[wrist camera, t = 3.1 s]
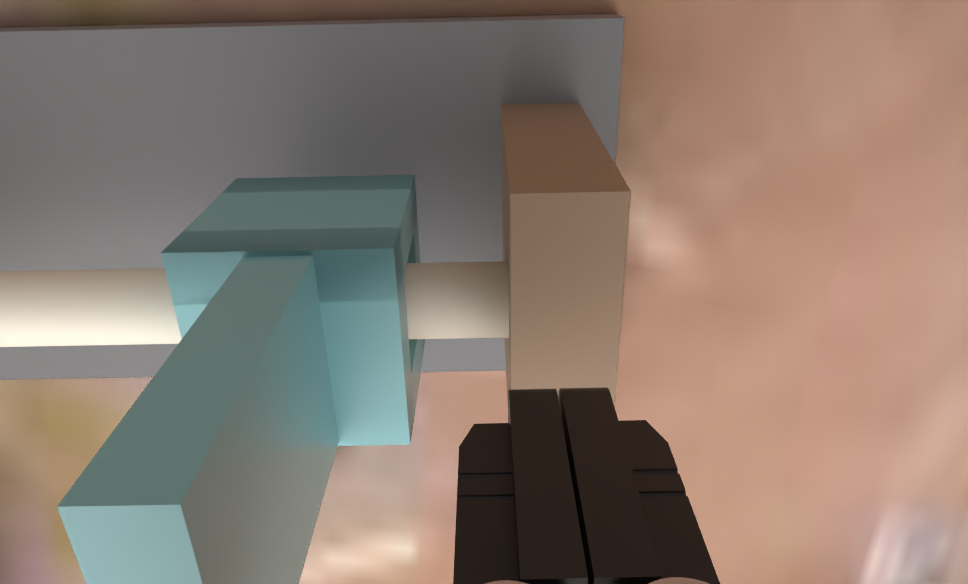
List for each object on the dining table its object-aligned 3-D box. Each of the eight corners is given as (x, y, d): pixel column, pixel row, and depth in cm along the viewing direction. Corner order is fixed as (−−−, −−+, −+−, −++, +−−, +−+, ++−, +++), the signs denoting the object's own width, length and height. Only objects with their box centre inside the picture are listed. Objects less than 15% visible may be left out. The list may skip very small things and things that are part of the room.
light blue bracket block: (414, 174, 16) (324, 494, 7) (425, 337, 18) (366, 757, 9) (236, 178, 16) (-91, 500, 7) (265, 340, 18) (39, 762, 9)
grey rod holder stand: (617, 14, 18) (714, 70, 11) (597, 351, 23) (655, 563, 15) (-397, 36, 18) (-1022, 108, 11) (-218, 366, 23) (-569, 582, 15)
